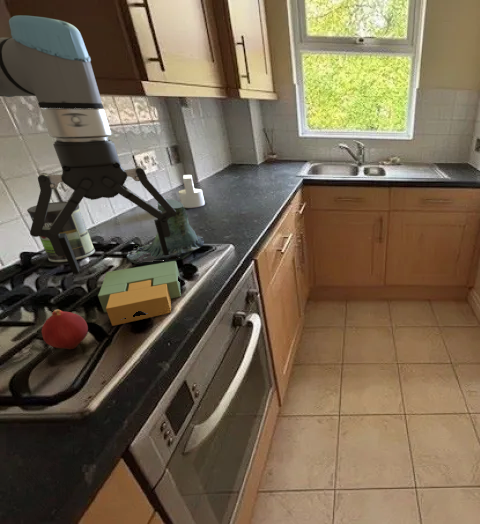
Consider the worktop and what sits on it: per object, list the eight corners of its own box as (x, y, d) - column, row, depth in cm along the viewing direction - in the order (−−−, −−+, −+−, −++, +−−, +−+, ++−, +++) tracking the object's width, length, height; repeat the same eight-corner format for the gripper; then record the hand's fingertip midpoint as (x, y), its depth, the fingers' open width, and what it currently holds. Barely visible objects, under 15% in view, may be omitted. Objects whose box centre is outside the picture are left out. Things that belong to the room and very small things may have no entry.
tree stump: (158, 240, 106) (159, 185, 99) (217, 258, 105) (222, 205, 98) (109, 260, 89) (106, 197, 82) (179, 283, 88) (181, 221, 81)
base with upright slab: (205, 206, 140) (199, 177, 135) (181, 208, 137) (174, 179, 131) (204, 201, 147) (199, 174, 142) (181, 203, 144) (175, 175, 139)
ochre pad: (112, 326, 64) (105, 308, 62) (118, 302, 71) (112, 286, 70) (171, 312, 68) (166, 296, 67) (170, 292, 76) (166, 276, 74)
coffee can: (68, 264, 88) (47, 213, 82) (38, 260, 90) (16, 209, 84) (104, 249, 97) (88, 202, 91) (77, 246, 99) (59, 200, 93)
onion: (50, 347, 58) (31, 308, 55) (91, 333, 62) (75, 296, 58) (53, 363, 54) (33, 324, 51) (96, 348, 58) (80, 309, 55)
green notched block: (104, 312, 68) (97, 296, 66) (111, 287, 77) (106, 272, 76) (180, 296, 74) (176, 281, 73) (179, 274, 84) (175, 260, 82)
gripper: (-42, 144, 42) (28, 288, 51) (176, 138, 56) (201, 252, 65) (-27, 140, 48) (34, 271, 57) (169, 135, 61) (193, 241, 70)
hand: (123, 261), depth 61 cm, fingers open, 13 cm apart
